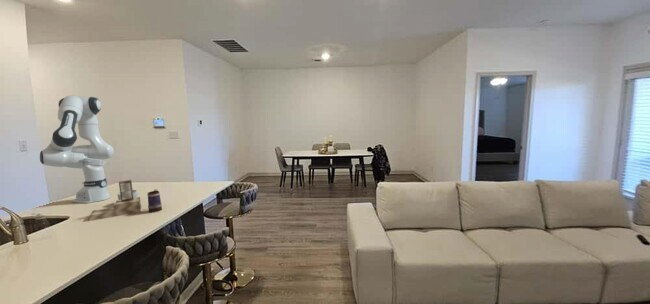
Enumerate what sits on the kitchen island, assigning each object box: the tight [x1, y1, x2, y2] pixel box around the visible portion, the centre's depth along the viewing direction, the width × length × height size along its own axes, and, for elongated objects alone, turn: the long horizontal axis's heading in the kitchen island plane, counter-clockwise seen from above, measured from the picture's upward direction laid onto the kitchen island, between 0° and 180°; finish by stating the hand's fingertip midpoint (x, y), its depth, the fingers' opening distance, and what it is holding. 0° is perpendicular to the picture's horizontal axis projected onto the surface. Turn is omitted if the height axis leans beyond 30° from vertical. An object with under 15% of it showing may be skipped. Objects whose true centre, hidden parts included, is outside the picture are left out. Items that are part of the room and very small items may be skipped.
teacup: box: [116, 189, 138, 200], centre depth 193 cm, size 14×11×8 cm
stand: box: [89, 196, 142, 221], centre depth 172 cm, size 24×10×7 cm, turn 119°
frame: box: [118, 179, 134, 202], centre depth 173 cm, size 6×3×12 cm, turn 119°
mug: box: [147, 189, 163, 213], centre depth 176 cm, size 10×7×12 cm
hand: (107, 163), depth 177 cm, fingers open, 8 cm apart
